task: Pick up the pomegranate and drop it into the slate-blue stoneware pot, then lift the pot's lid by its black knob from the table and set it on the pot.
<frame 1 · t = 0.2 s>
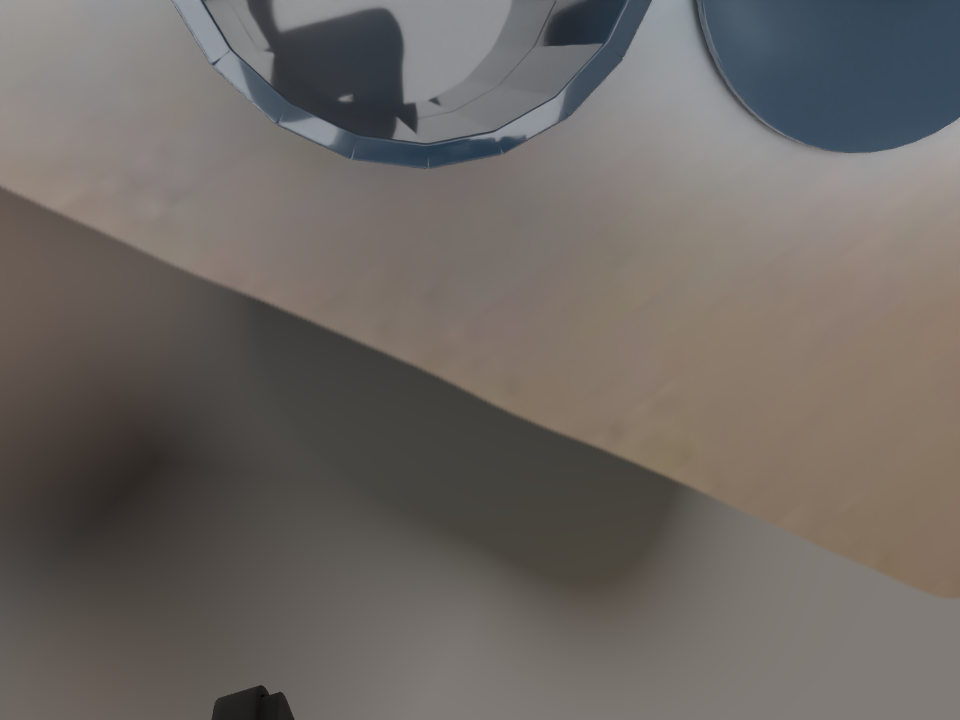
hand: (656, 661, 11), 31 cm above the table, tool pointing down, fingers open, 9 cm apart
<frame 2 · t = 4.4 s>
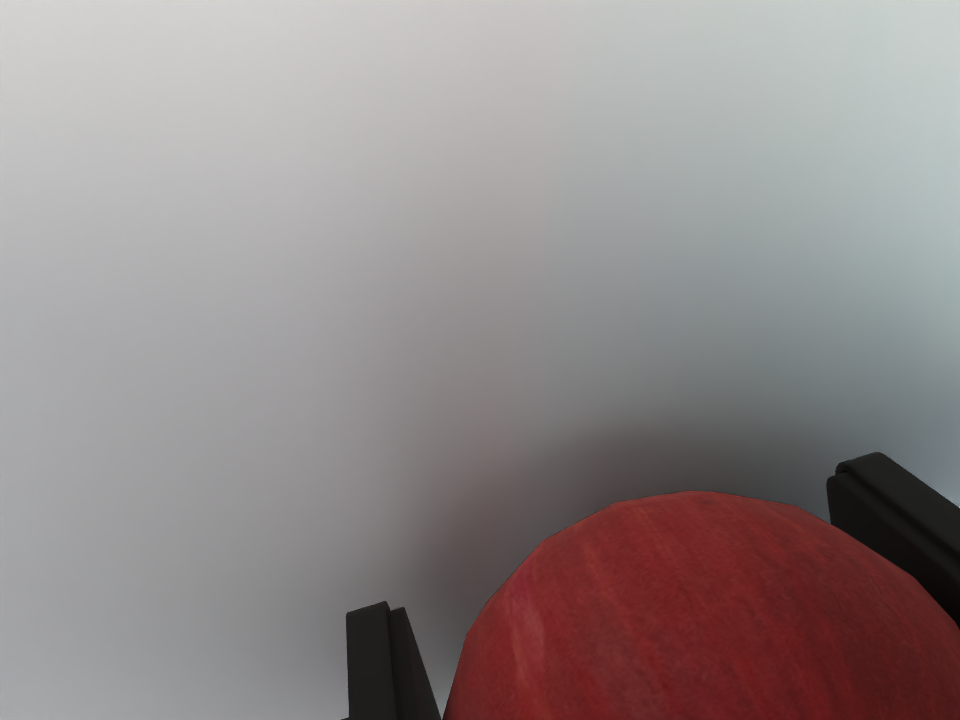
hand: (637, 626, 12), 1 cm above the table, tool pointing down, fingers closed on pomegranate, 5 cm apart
pomegranate: (607, 572, 13), on the table, touching gripper
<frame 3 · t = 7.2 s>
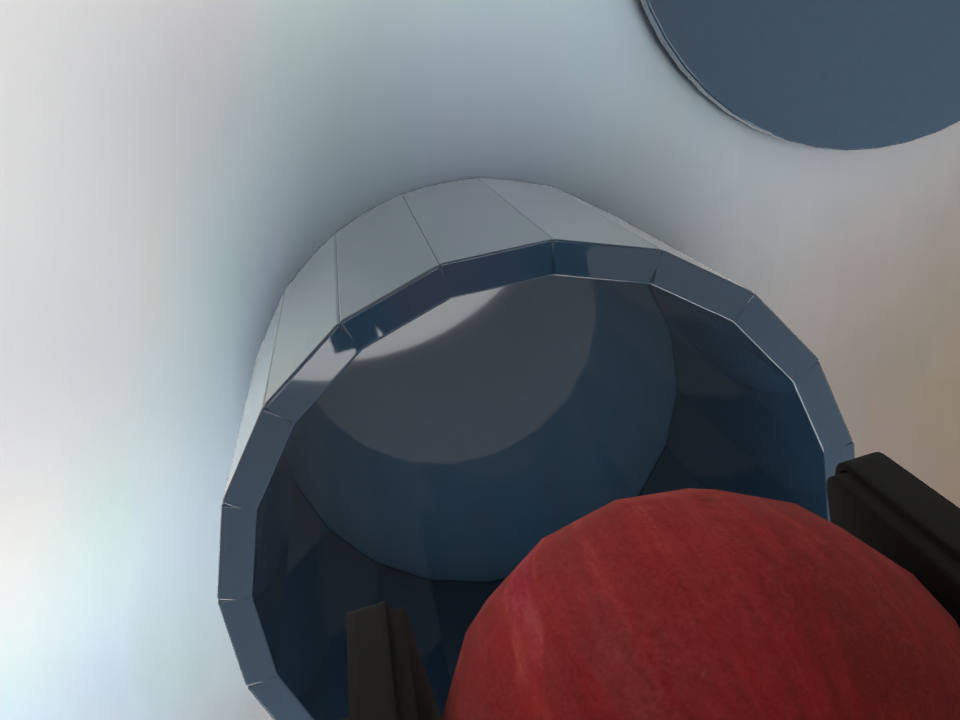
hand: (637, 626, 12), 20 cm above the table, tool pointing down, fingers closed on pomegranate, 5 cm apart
pot: (481, 400, 32), on the table
pomegranate: (607, 570, 13), point 18 cm above the table, touching gripper
when the fingers open (9 cm above the table, at t = 10.4 s): pomegranate drops 7 cm, resting on pot.
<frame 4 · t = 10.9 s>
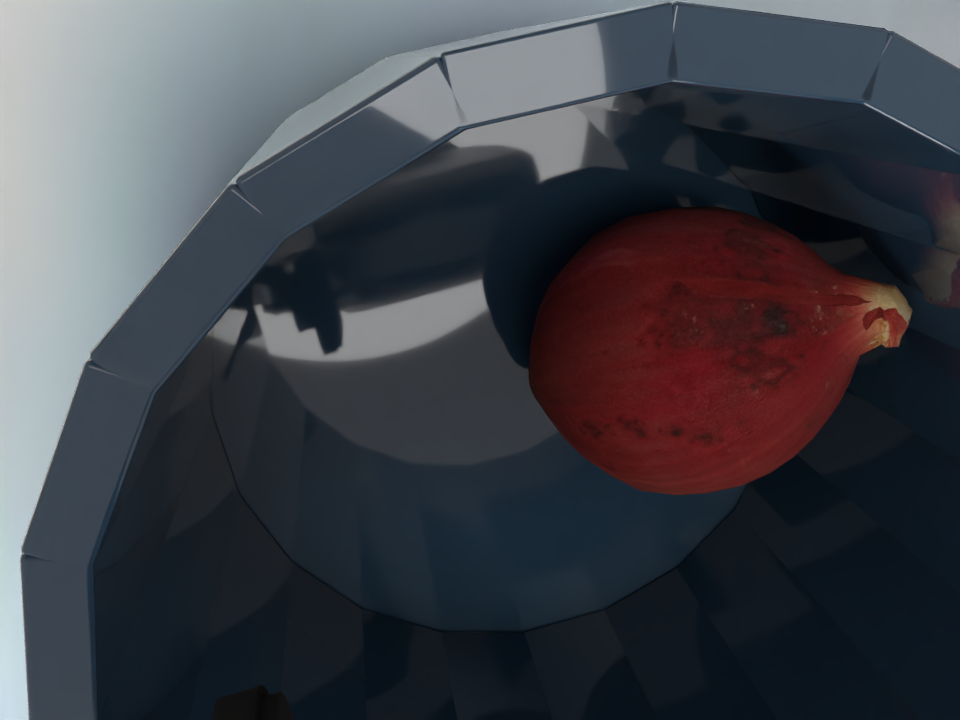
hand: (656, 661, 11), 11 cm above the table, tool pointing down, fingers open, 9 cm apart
pot: (510, 374, 22), on the table
pomegranate: (526, 385, 21), point 1 cm above the table, touching pot
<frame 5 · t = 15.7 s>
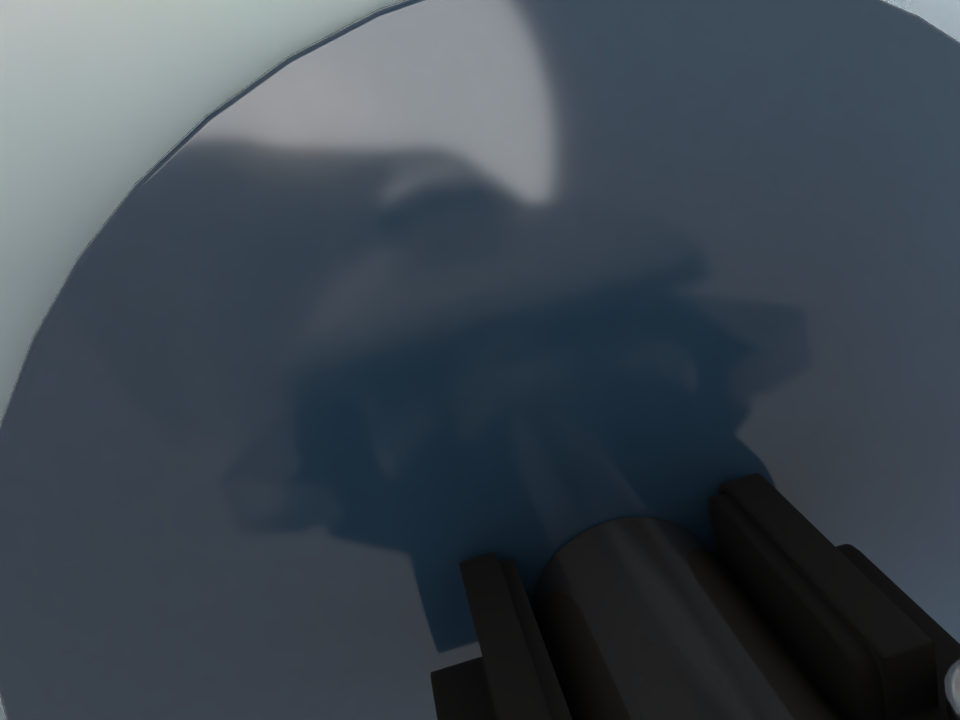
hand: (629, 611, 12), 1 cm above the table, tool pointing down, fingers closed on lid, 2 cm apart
lid: (612, 580, 13), point 1 cm above the table, touching gripper
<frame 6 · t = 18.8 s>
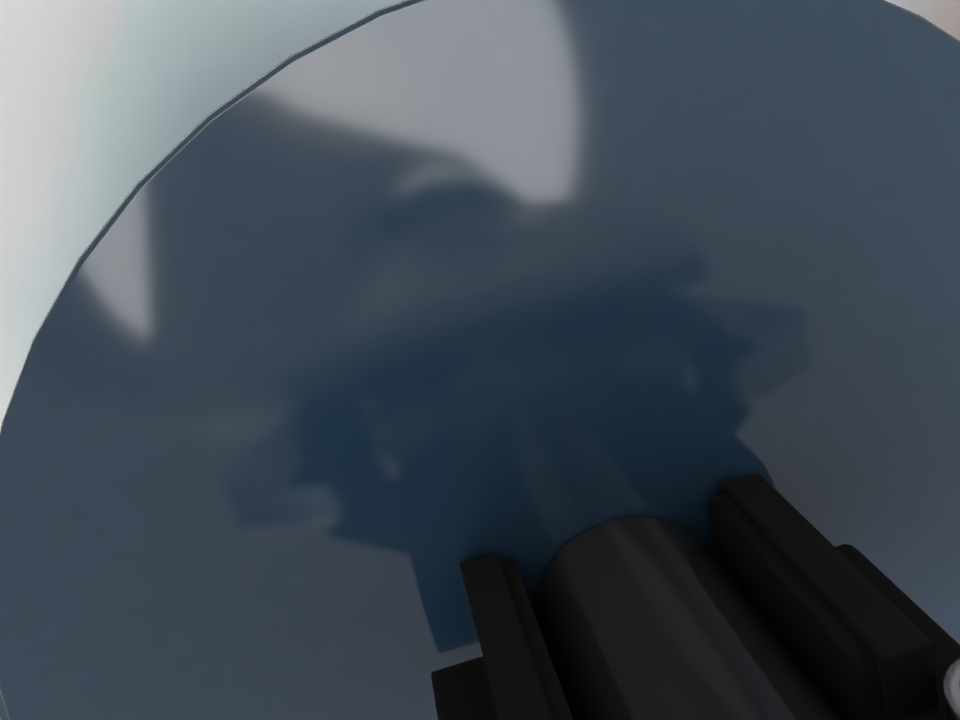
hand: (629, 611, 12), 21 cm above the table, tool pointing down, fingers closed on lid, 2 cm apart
lid: (614, 579, 13), point 20 cm above the table, touching gripper
when the fingers open (12 cm above the table, at t = 22.1 s): lid stays where it is, resting on pot.
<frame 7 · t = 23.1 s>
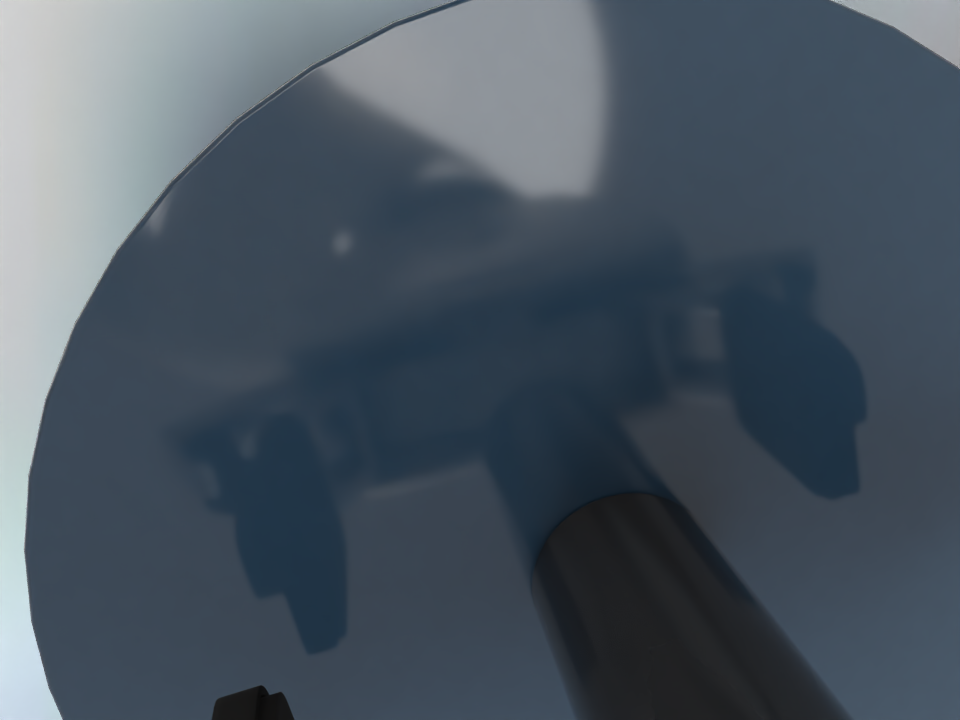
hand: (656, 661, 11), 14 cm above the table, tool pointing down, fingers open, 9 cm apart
lid: (610, 554, 14), point 11 cm above the table, touching pot
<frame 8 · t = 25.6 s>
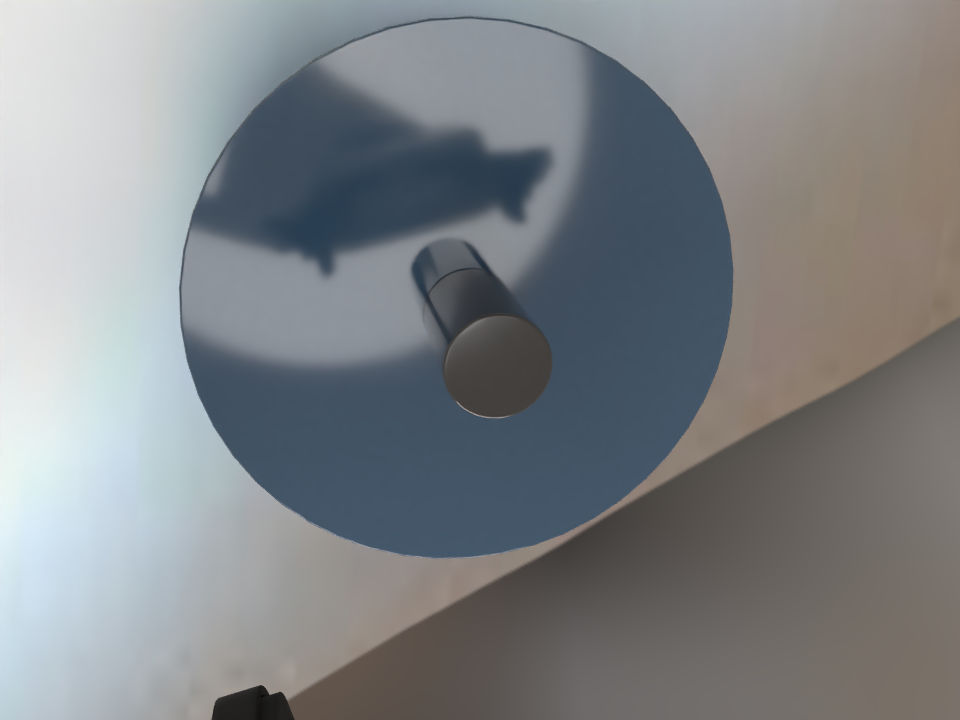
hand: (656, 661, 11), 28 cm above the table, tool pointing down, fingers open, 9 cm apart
lid: (466, 308, 28), point 11 cm above the table, touching pot
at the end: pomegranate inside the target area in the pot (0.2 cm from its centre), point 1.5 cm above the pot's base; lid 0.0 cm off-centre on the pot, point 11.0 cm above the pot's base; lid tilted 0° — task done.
